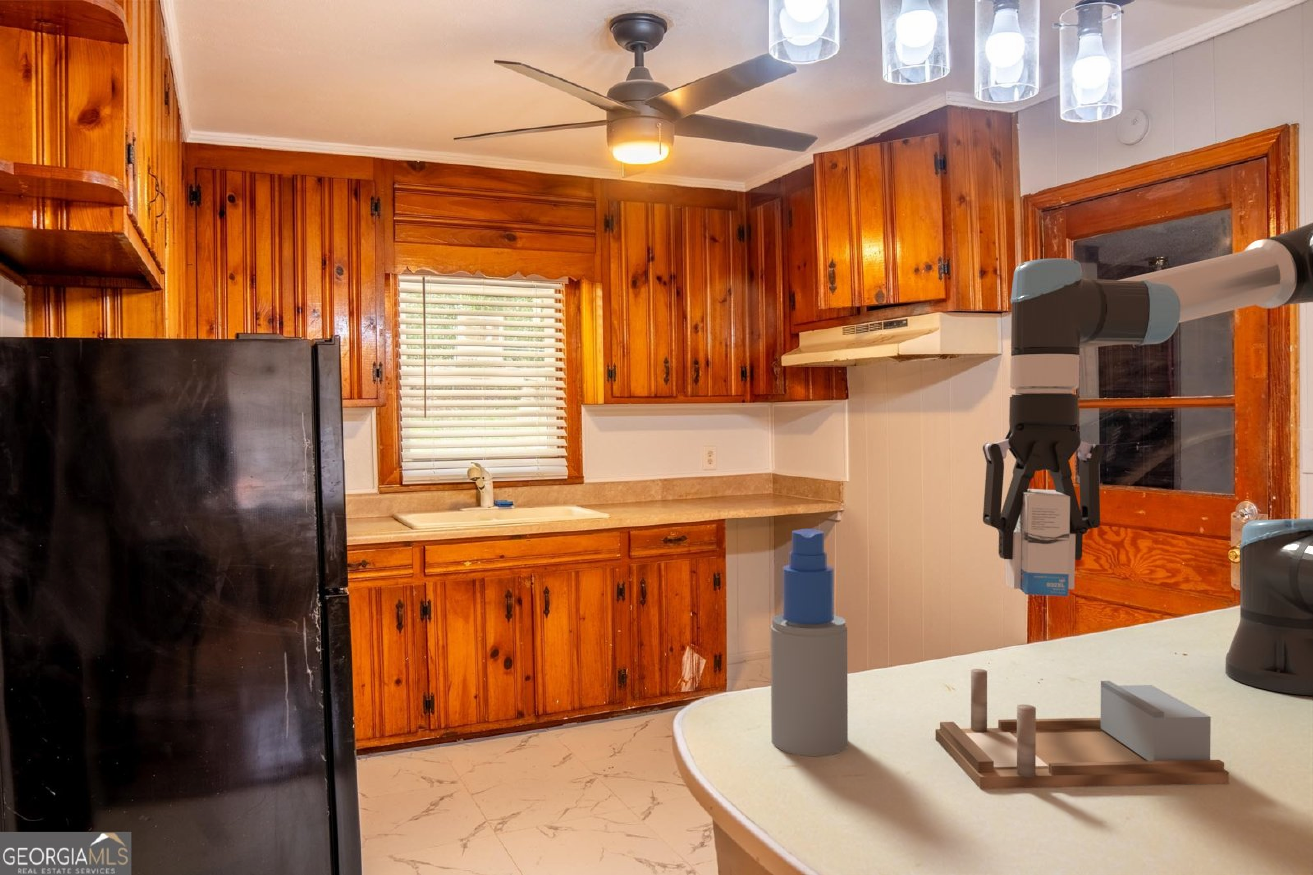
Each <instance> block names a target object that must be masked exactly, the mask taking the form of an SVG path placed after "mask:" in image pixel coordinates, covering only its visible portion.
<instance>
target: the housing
mask: <svg viewBox="0 0 1313 875" xmlns="http://www.w3.org/2000/svg"><path fill="white" fill-rule="evenodd" d="M1100 718H1101V729H1103V730H1104V731H1105V732H1107V733H1108V734H1110V735H1111V736H1113V737H1114V738H1116V739H1117V740H1119V741H1120V742H1121V743H1123V744H1124V745H1126V746H1127V747H1129V748H1130V749H1132V750H1133V751H1135V752H1136V753H1137V754H1139V755H1140V756H1142V757H1143V758H1145V759H1146V760H1148V761H1176V760H1211V729H1212V728H1211V724H1212V722H1211V721H1212V720H1211V718H1212V717H1211V716H1210V715H1208V714H1207V713H1205V712H1202V711H1201V710H1199V709H1197V708H1195V707H1193V706H1191V705H1189V704H1188V703H1186V702H1184V701H1182V700H1180V699H1178V698H1177V697H1175V696H1172V695H1171V694H1169V693H1167V692H1165V691H1163V690H1162V689H1160V688H1157V687H1156V686H1154V685H1153V684H1133V685H1130V684H1129V685H1125V684H1124V685H1118V684H1115V683H1114V682H1112V681H1110V680H1100Z"/></svg>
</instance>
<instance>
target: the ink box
mask: <svg viewBox="0 0 1313 875" xmlns="http://www.w3.org/2000/svg"><path fill="white" fill-rule="evenodd" d="M1014 531H1015V532H1018V533H1021V534H1022V542H1021V586H1020V589H1019V590H1020V591H1022V592H1023V594H1025V595H1029V596H1030V595H1031V596H1049V597H1069V589H1068V588H1069V532H1070V496H1067V495H1065V494H1063V493H1060V492H1056V490H1055V489H1041V488H1040V489H1038V488H1028V490H1027V492H1023V506H1022V509H1021V512H1020V516H1019V519H1018V522H1017V525H1016V528H1015V530H1014Z"/></svg>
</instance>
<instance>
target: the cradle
mask: <svg viewBox="0 0 1313 875" xmlns="http://www.w3.org/2000/svg"><path fill="white" fill-rule="evenodd" d="M1036 713H1037V709H1036V707H1035V706H1034V705H1031V704H1025V703H1023V704H1017V706H1016V718H1015V719H1014V718H1013V719H1010V718H1009V719H1007V718H1006V719H998V721H997V723H998V726H997V727H988V670H986V669H982V668H973V669H971V670H970V728H961V727H960V726H958V725H957V723H956V722H954V721H940V722H939V728H936V729H935V740H936V742H937V743H938V744H940V746H941V747H942V748H943V749H944V750H945V751H946V753H948V755H949V756H950V757H951V758H952V759H953V760H954V762H955V763H956V764H957V765H958V766H960V768H961V769H962V770H963V771H964V772H965V773H966V775H968V777H969V778H970V779H971V780H972V781H973V782H974V783H975V785H977V787H978V788H979V789H1016V788H1017V789H1018V788H1019V789H1021V788H1026V789H1027V788H1061V787H1062V788H1065V787H1067V788H1069V787H1070V788H1071V787H1073V788H1075V787H1078V788H1079V787H1111V786H1112V787H1117V786H1120V787H1121V786H1125V787H1126V786H1170V785H1172V786H1173V785H1175V786H1176V785H1217V784H1218V785H1219V784H1221V785H1222V784H1224V785H1225V784H1226V785H1227V784H1230V783H1229V782H1230V780H1229V778H1230V777H1229V776H1230V774H1229V773H1230V772H1229V771H1228V770H1227V769H1225V762H1224V761H1222V760H1221V759H1210V760H1176V761H1148V760H1146V759H1145V758H1143V757H1142V756H1140V755H1139V754H1137V753H1136V752H1135V751H1133V750H1132V749H1130V748H1129V747H1127V746H1126V745H1124V744H1123V743H1121V742H1120V741H1119V740H1117V739H1116V738H1114V737H1113V736H1111V735H1110V734H1108V733H1107V732H1105V731H1104V730H1103V729H1101V717H1077V718H1075V717H1073V718H1071V717H1069V718H1068V717H1067V718H1063V717H1062V718H1036V717H1037V716H1036V715H1037V714H1036Z"/></svg>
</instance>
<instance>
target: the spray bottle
mask: <svg viewBox="0 0 1313 875" xmlns="http://www.w3.org/2000/svg"><path fill="white" fill-rule="evenodd" d="M788 554H789V563H788V564H787V565H784V566H783V567H782V613H780V614H776V615H775V616H773V617H772V624H771V625H770V691H771V692H770V696H771V698H770V706H771V707H770V708H771V710H770V711H771V712H770V713H771V714H770V716H771V717H770V718H771V720H770V721H771V743H772V745H773V746H774V747H776V748H777V749H779V750H780V751H783V752H785V753H790V754H793V755H798V756H799V755H800V756H806V757H807V756H809V757H823V756H830V755H835V754H839V753H840V752H843V751H845V750H846V749H847V747H849V745H848V744H849V743H848V738H849V737H848V735H849V734H848V731H849V730H848V729H849V728H848V724H849V723H848V722H849V721H848V720H849V719H848V718H849V717H848V716H849V715H848V714H849V713H848V712H849V711H848V710H849V709H848V706H849V705H848V703H849V702H848V701H849V700H848V627H847V626H846V619H845V618H843V617H842V616H839V615H836V614H835V611H834V609H835V607H834V606H835V605H834V604H835V600H834V599H835V598H834V597H835V593H834V592H835V591H834V590H835V588H834V587H835V585H834V584H835V583H834V582H835V581H834V580H835V579H834V576H835V575H834V574H835V573H834V571H835V569H834V567H833V566H831V565H830V566H829V565H828V561H827V560H828V558H827V557H828V556H827V554H828V553H827V552H826V551H825V531H823V530H819V529H815V528H801V529H796V530H792V531H791V551H789V553H788Z"/></svg>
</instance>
